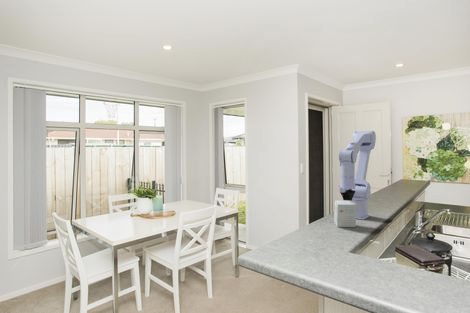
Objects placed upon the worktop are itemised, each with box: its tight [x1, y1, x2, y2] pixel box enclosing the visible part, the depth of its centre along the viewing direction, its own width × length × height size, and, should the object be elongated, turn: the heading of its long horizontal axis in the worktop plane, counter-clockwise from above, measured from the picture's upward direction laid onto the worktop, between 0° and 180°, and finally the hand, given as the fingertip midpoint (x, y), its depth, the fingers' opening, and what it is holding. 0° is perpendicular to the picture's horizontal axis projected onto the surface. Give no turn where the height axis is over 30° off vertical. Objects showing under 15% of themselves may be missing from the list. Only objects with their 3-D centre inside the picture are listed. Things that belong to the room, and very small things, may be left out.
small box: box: [333, 199, 357, 228], centre depth 127 cm, size 8×6×10 cm
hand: (347, 206), depth 131 cm, fingers closed
